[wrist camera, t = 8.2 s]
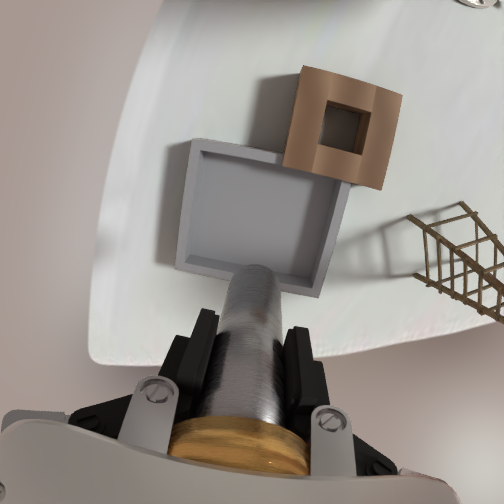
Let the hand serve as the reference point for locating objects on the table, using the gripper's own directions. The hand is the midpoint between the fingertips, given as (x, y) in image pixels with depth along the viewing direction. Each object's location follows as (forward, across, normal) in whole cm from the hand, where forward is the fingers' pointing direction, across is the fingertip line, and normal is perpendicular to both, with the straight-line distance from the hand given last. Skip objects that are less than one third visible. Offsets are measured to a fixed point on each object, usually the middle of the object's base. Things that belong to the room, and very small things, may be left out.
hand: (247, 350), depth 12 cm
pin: (+6, 0, 0) cm, 6 cm away
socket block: (+24, -6, -11) cm, 27 cm away
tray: (+24, 0, 0) cm, 24 cm away
